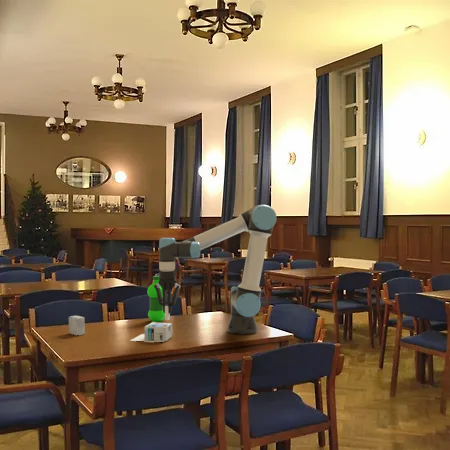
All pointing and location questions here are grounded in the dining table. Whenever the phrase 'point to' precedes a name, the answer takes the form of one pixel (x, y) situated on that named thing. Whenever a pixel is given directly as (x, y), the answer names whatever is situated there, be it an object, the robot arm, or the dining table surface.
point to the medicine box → (76, 325)
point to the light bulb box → (158, 331)
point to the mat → (141, 338)
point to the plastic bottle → (155, 302)
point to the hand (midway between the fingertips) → (167, 319)
